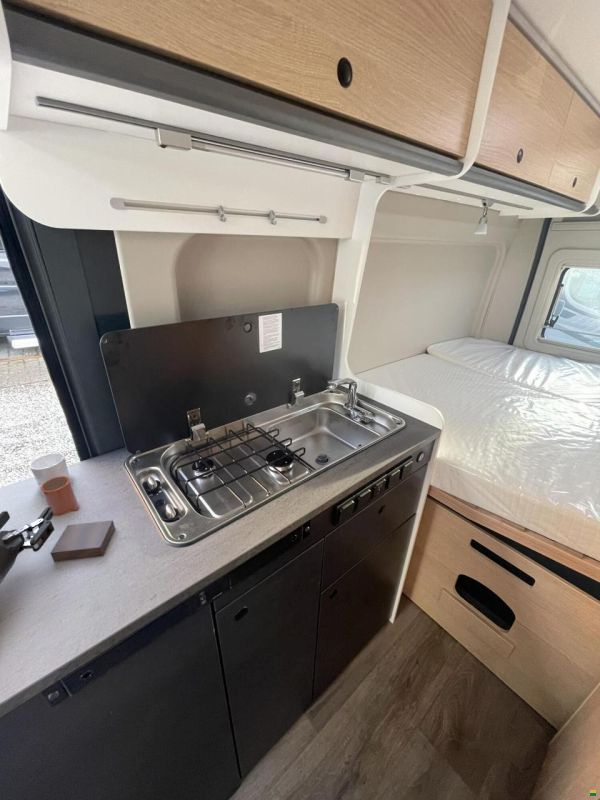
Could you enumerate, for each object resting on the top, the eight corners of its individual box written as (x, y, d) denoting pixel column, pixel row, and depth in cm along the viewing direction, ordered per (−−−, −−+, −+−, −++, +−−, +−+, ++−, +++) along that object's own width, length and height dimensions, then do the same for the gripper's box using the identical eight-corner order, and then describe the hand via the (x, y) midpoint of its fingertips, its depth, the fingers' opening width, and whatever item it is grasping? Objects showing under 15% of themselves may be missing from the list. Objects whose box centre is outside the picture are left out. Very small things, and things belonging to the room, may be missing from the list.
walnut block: (55, 565, 72) (50, 553, 70) (72, 537, 79) (67, 525, 78) (104, 559, 74) (100, 547, 72) (116, 532, 81) (112, 520, 79)
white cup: (39, 502, 90) (27, 472, 86) (42, 485, 96) (31, 457, 92) (73, 492, 94) (63, 464, 89) (74, 477, 100) (64, 449, 96)
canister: (46, 520, 84) (34, 492, 80) (58, 503, 90) (48, 476, 86) (72, 517, 85) (62, 490, 81) (82, 501, 91) (73, 474, 87)
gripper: (13, 558, 57) (59, 495, 72) (-82, 569, 55) (-15, 502, 69) (27, 586, 60) (68, 521, 75) (-62, 598, 58) (-2, 528, 73)
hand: (28, 512), depth 72 cm, fingers open, 8 cm apart
